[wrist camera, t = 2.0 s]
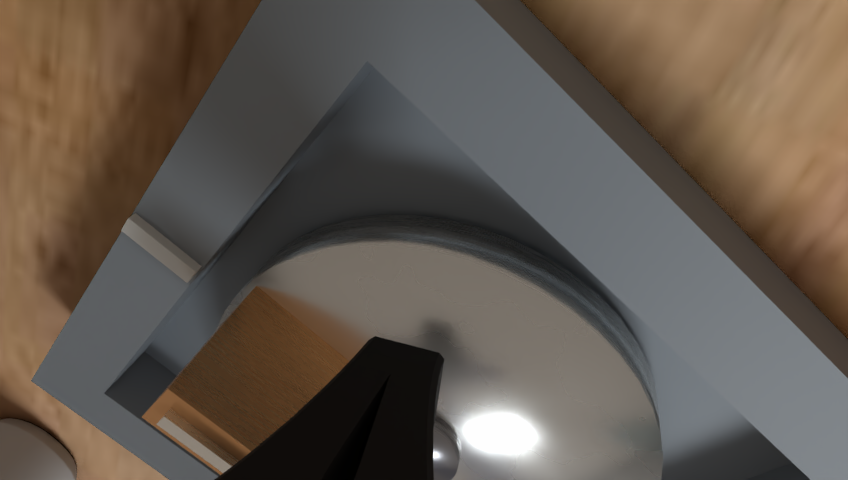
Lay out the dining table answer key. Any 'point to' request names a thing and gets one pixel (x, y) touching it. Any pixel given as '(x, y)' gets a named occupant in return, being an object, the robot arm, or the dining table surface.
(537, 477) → the dial
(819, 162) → the dining table surface
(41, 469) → the beverage can
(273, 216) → the slate tray
